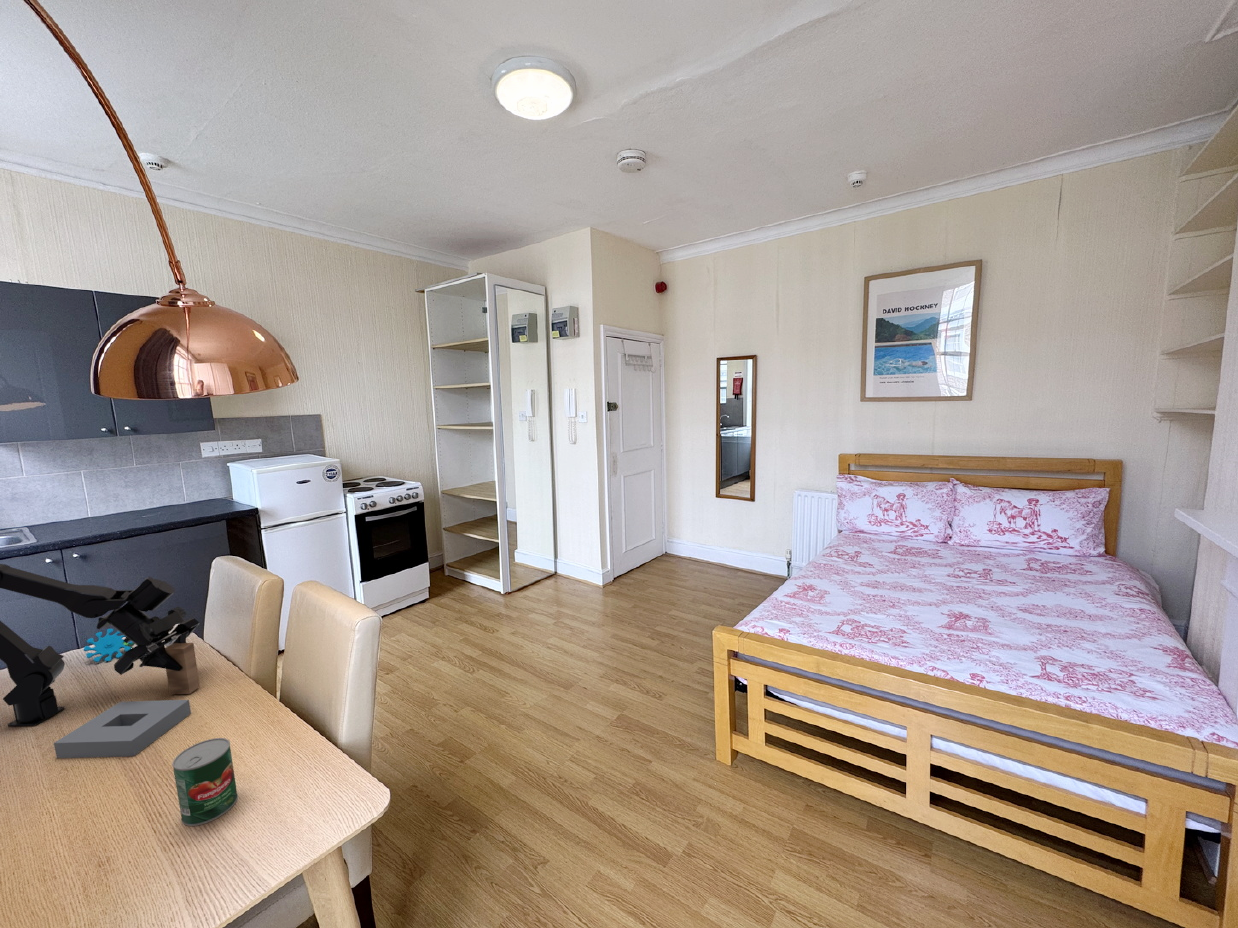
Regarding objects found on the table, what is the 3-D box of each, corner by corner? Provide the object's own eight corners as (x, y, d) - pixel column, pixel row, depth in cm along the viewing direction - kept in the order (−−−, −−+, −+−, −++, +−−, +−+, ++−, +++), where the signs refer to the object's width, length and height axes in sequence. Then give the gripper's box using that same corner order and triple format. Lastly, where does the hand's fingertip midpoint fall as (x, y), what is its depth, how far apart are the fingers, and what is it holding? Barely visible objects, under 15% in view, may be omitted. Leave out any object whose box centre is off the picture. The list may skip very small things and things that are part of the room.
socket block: (56, 758, 103) (53, 742, 102) (122, 715, 117) (120, 701, 116) (134, 756, 103) (131, 740, 103) (191, 713, 117) (188, 699, 116)
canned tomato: (208, 790, 93) (199, 737, 92) (248, 790, 93) (241, 737, 92) (168, 826, 86) (159, 769, 84) (213, 826, 85) (204, 769, 84)
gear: (81, 664, 137) (85, 630, 142) (83, 673, 141) (86, 640, 145) (137, 654, 145) (138, 623, 150) (137, 663, 148) (138, 632, 153)
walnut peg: (169, 694, 124) (162, 649, 123) (180, 687, 127) (173, 643, 126) (189, 693, 124) (183, 648, 123) (199, 686, 127) (193, 642, 126)
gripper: (118, 620, 113) (173, 664, 115) (187, 588, 132) (234, 626, 133) (89, 653, 114) (144, 696, 116) (162, 617, 133) (209, 655, 134)
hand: (186, 665), depth 125 cm, fingers closed on walnut peg, 3 cm apart
